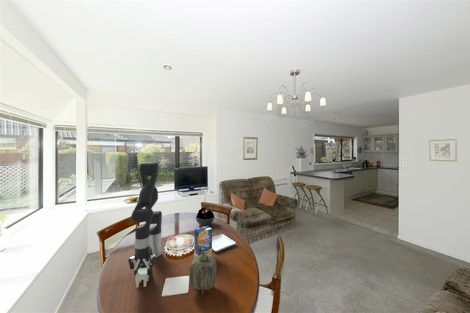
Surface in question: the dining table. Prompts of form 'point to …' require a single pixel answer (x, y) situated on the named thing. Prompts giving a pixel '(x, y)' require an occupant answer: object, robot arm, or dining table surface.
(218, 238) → the salad plate
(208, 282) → the tabletop clock
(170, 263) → the dining table surface
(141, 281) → the coffee jar
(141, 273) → the cube with two prongs
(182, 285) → the mat
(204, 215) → the coal bowl
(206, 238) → the beverage box
